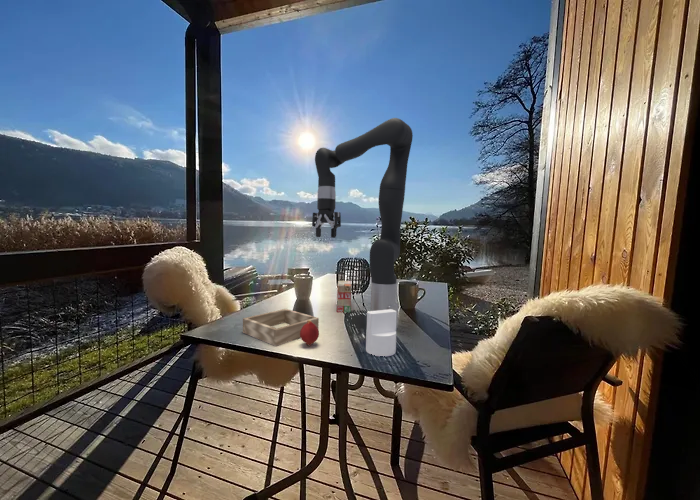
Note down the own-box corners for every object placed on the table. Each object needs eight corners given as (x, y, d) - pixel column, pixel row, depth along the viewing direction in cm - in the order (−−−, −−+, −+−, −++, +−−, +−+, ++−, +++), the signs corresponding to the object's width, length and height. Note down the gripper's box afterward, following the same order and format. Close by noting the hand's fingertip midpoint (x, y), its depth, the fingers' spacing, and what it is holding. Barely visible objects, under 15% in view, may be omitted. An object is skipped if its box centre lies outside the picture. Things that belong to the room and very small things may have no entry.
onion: (311, 340, 99) (311, 316, 98) (322, 345, 94) (322, 320, 94) (296, 344, 95) (296, 319, 94) (307, 350, 90) (307, 324, 90)
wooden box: (318, 331, 107) (318, 317, 107) (275, 346, 93) (276, 330, 93) (285, 321, 119) (285, 308, 118) (242, 332, 104) (242, 318, 104)
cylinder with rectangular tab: (374, 358, 86) (375, 316, 85) (360, 347, 94) (361, 309, 93) (401, 354, 89) (402, 314, 89) (386, 343, 98) (387, 306, 97)
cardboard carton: (337, 301, 155) (338, 277, 154) (350, 301, 155) (350, 277, 155) (336, 312, 134) (337, 284, 133) (350, 312, 134) (351, 285, 133)
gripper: (308, 198, 127) (307, 236, 128) (333, 196, 118) (332, 237, 119) (320, 200, 133) (320, 236, 134) (345, 198, 124) (344, 237, 125)
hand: (325, 237), depth 127 cm, fingers open, 8 cm apart
